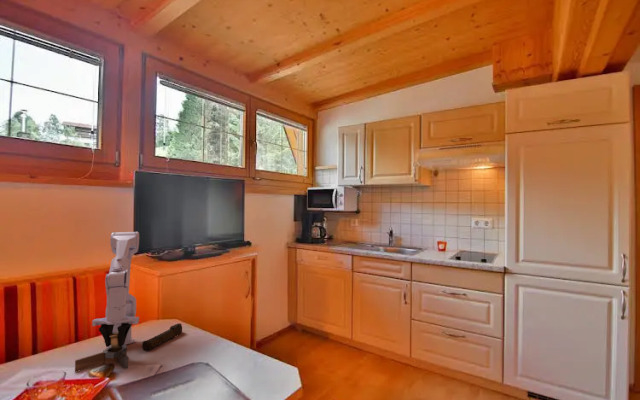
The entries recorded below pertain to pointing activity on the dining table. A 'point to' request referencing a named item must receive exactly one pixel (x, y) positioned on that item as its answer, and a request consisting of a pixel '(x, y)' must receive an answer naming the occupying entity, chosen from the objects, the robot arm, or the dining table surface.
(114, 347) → the bronze pin
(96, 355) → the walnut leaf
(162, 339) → the hand tool
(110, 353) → the grey ring with handle
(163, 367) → the dining table surface
